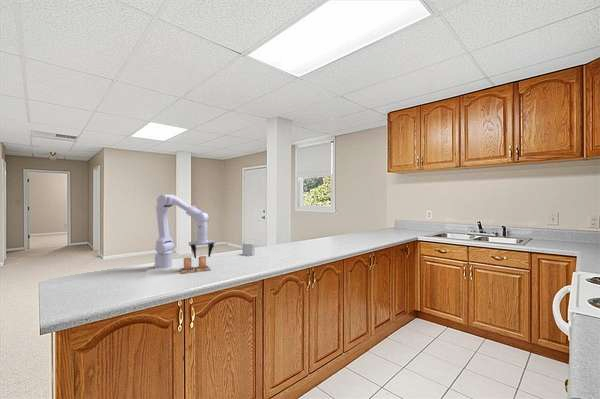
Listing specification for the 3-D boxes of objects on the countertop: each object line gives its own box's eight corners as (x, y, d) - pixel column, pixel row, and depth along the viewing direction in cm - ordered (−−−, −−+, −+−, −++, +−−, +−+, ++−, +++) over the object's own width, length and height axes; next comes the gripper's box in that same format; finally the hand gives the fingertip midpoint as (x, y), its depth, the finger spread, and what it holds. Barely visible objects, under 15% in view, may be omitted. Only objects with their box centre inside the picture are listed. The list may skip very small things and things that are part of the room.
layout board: (180, 276, 153) (180, 272, 153) (179, 270, 163) (179, 267, 163) (211, 272, 160) (211, 268, 160) (208, 267, 171) (208, 264, 171)
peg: (184, 271, 157) (183, 259, 157) (183, 270, 161) (183, 257, 161) (191, 271, 159) (191, 258, 159) (191, 269, 163) (190, 257, 162)
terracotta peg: (199, 270, 161) (199, 257, 161) (198, 268, 164) (198, 256, 164) (206, 269, 163) (206, 257, 162) (205, 267, 166) (205, 255, 166)
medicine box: (254, 254, 207) (254, 242, 207) (252, 256, 203) (251, 244, 203) (245, 254, 210) (245, 242, 210) (242, 255, 205) (242, 243, 205)
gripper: (189, 235, 156) (189, 259, 157) (216, 233, 163) (216, 257, 163) (188, 233, 163) (188, 257, 163) (214, 232, 169) (214, 255, 169)
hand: (202, 257), depth 163 cm, fingers open, 7 cm apart
